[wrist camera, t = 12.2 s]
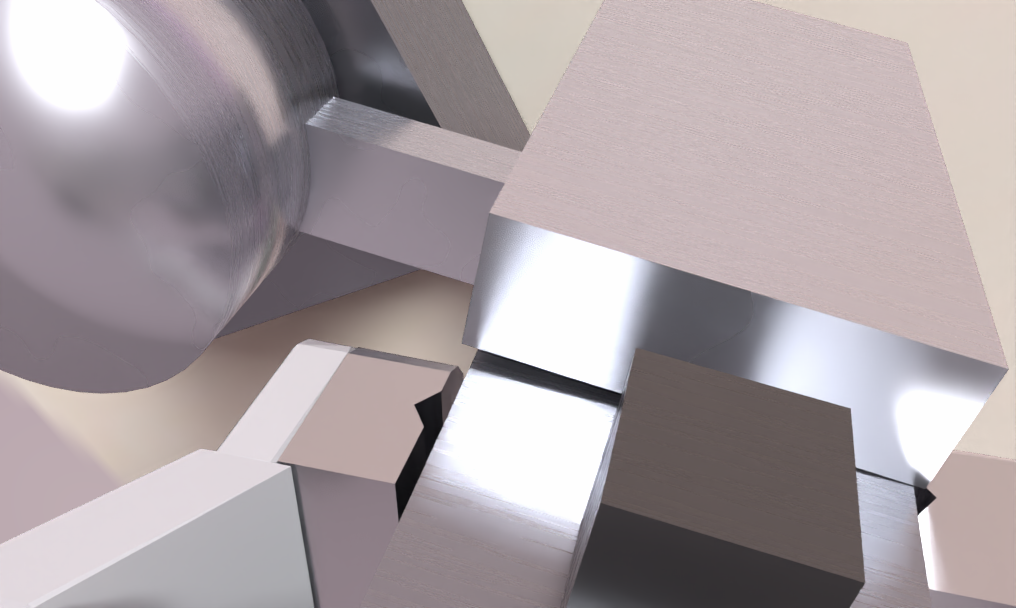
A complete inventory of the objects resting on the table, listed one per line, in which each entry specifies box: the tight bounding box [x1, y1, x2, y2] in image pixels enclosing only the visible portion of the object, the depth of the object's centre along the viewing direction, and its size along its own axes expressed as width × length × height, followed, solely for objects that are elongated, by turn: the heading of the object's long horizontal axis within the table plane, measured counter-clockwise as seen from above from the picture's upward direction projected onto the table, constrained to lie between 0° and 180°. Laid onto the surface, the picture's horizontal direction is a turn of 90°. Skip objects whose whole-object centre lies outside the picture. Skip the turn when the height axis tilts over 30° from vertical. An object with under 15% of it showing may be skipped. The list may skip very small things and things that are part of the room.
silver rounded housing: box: [0, 0, 1008, 489], centre depth 12 cm, size 14×8×7 cm, turn 79°
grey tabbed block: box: [360, 348, 932, 608], centre depth 9 cm, size 3×6×8 cm, turn 171°
